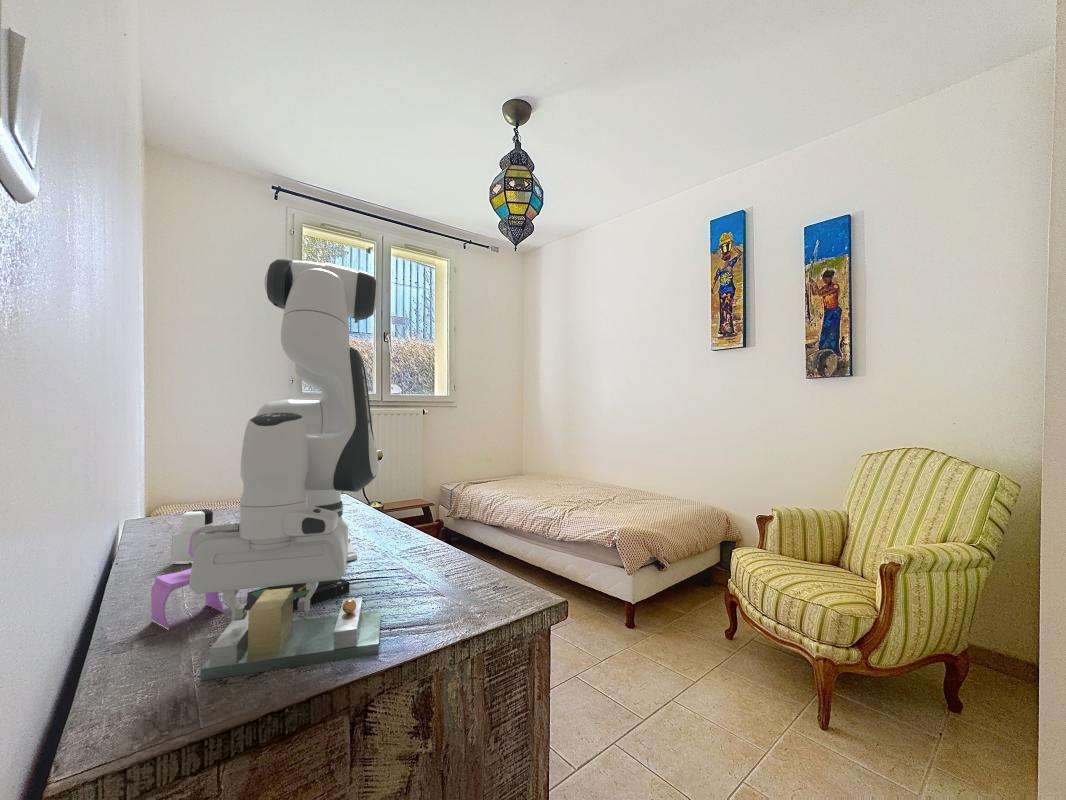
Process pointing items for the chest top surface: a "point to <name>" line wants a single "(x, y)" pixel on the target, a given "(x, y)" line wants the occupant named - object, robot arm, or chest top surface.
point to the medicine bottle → (189, 532)
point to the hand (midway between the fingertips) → (272, 615)
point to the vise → (289, 647)
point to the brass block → (270, 621)
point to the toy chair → (170, 583)
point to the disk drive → (321, 593)
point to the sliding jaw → (348, 623)
